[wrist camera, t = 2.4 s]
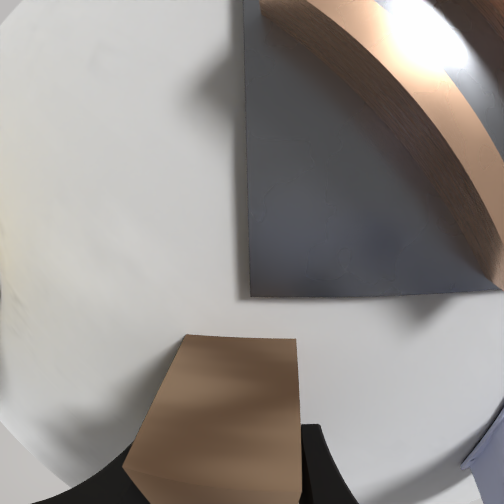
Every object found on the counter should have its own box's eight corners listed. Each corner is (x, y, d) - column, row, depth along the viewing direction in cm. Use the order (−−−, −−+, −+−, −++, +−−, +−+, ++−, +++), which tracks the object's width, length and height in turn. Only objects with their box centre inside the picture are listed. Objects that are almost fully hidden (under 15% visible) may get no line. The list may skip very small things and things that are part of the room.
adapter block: (295, 337, 10) (301, 491, 4) (286, 445, 12) (282, 548, 7) (186, 333, 10) (121, 466, 5) (207, 440, 13) (182, 537, 7)
